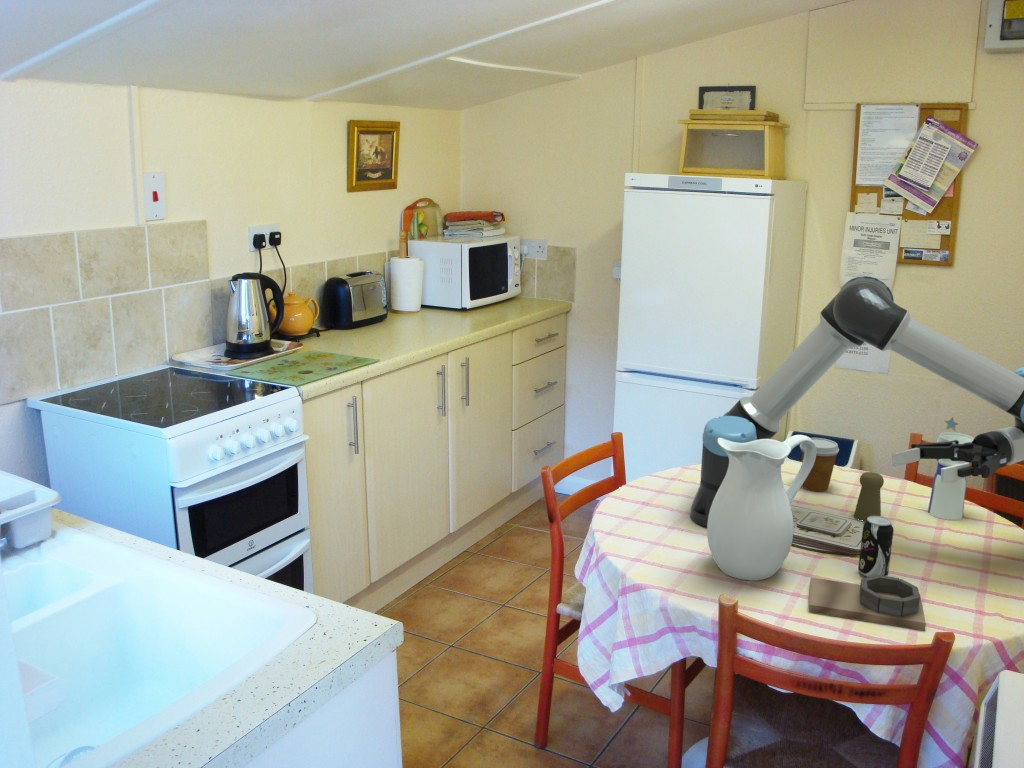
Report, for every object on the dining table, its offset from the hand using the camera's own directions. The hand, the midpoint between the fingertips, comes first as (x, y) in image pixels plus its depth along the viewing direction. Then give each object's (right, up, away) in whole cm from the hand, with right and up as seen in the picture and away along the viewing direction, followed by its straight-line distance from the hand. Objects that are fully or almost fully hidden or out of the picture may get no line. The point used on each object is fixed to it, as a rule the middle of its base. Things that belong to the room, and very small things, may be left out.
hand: (916, 467), depth 186 cm
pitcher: (-31, -21, +3) cm, 38 cm away
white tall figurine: (+21, -14, +32) cm, 41 cm away
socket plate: (-16, -25, -13) cm, 33 cm away
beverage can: (-9, -22, 0) cm, 24 cm away
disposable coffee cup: (-5, -10, +49) cm, 50 cm away
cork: (+1, -15, +29) cm, 33 cm away
